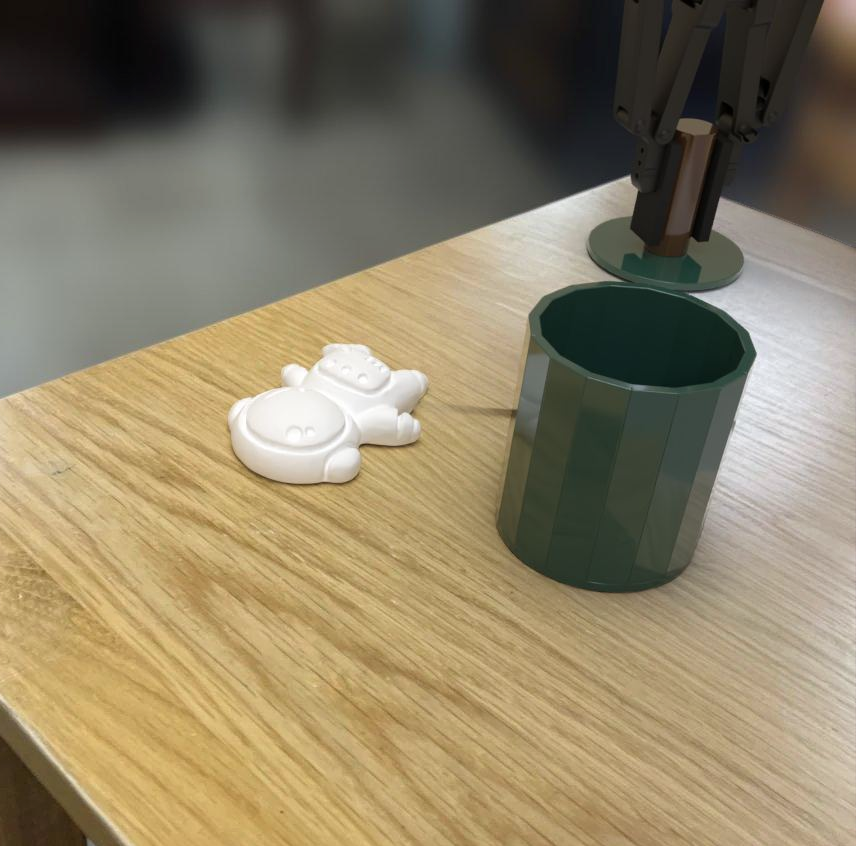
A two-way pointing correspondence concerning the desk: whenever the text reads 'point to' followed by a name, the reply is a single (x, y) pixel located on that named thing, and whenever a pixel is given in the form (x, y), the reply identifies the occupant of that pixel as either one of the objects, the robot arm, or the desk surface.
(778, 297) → the desk surface
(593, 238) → the lid
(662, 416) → the canister
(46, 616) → the desk surface
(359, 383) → the white cartoon animal figure
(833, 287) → the desk surface
